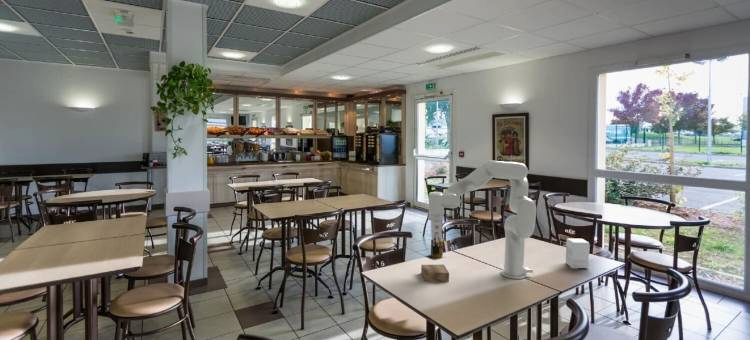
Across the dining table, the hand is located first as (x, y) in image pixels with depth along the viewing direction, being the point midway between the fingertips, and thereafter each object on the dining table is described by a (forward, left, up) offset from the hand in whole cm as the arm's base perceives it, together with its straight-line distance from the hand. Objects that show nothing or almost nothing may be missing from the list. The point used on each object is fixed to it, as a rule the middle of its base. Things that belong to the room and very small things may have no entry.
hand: (435, 251), depth 193 cm
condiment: (0, 0, -3) cm, 3 cm away
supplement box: (-82, -24, -14) cm, 87 cm away
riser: (0, 0, -14) cm, 14 cm away
